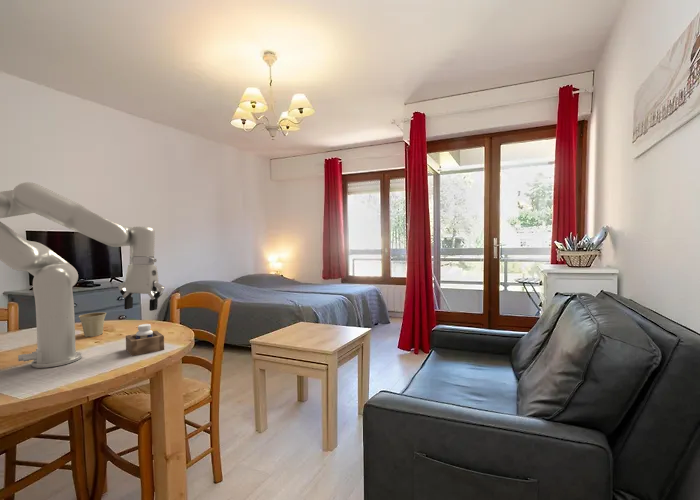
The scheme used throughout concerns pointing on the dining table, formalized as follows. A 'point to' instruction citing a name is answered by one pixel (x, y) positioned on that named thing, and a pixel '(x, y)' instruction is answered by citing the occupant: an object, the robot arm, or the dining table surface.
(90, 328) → the flower pot
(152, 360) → the dining table surface
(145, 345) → the well
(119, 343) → the dining table surface
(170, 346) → the dining table surface
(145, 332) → the pill bottle
